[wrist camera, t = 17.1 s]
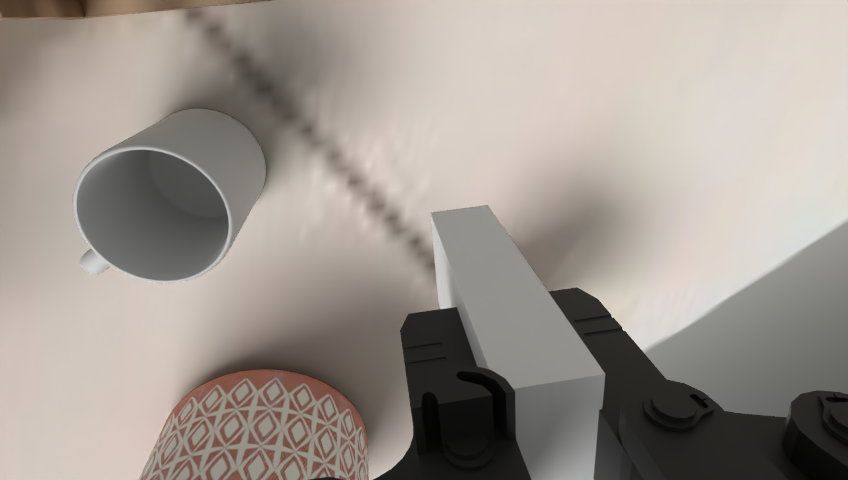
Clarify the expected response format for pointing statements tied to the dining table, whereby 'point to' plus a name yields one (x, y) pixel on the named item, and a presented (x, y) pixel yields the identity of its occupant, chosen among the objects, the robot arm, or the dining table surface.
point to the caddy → (96, 7)
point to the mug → (169, 197)
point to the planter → (261, 432)
